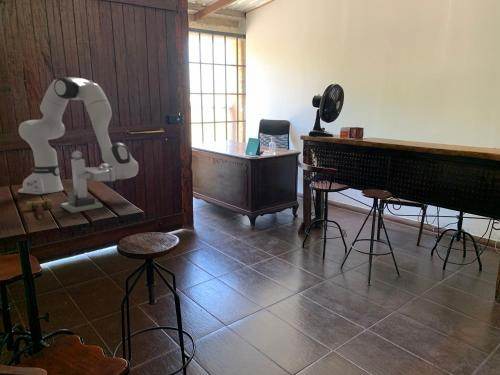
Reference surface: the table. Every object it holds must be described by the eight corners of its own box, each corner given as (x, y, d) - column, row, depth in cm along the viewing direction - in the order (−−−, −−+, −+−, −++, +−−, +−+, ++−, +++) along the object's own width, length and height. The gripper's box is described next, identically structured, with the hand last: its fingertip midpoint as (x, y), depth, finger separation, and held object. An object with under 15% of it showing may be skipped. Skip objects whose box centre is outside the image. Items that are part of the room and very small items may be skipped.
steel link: (84, 200, 183) (79, 149, 178) (88, 201, 180) (83, 150, 175) (75, 201, 180) (70, 150, 175) (78, 203, 177) (73, 151, 172)
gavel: (53, 211, 162) (25, 214, 157) (54, 221, 163) (27, 225, 159) (51, 197, 180) (26, 200, 175) (52, 207, 181) (27, 209, 176)
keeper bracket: (90, 201, 190) (89, 187, 189) (103, 207, 180) (101, 192, 179) (61, 206, 181) (59, 192, 179) (72, 212, 171) (70, 197, 169)
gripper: (97, 163, 193) (68, 166, 183) (115, 168, 178) (85, 171, 169) (98, 175, 194) (69, 179, 185) (116, 181, 180) (86, 185, 170)
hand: (77, 175), depth 177 cm, fingers closed on steel link, 4 cm apart
